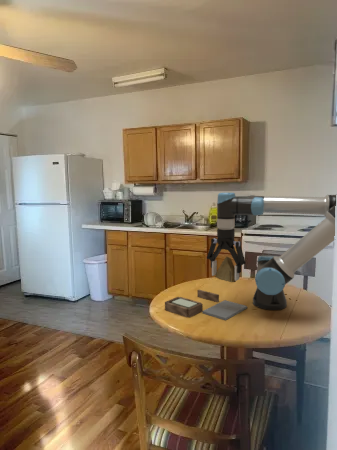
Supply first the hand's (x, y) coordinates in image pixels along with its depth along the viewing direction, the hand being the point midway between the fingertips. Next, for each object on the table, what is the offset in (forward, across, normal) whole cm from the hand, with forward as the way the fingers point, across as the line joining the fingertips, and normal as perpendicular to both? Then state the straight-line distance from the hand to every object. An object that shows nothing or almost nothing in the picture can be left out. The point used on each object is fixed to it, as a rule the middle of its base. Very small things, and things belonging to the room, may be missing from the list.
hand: (225, 277), depth 149 cm
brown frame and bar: (+15, +14, +5) cm, 22 cm away
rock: (+1, 0, 0) cm, 1 cm away
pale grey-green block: (+16, +14, +12) cm, 24 cm away
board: (+15, 0, 0) cm, 15 cm away
